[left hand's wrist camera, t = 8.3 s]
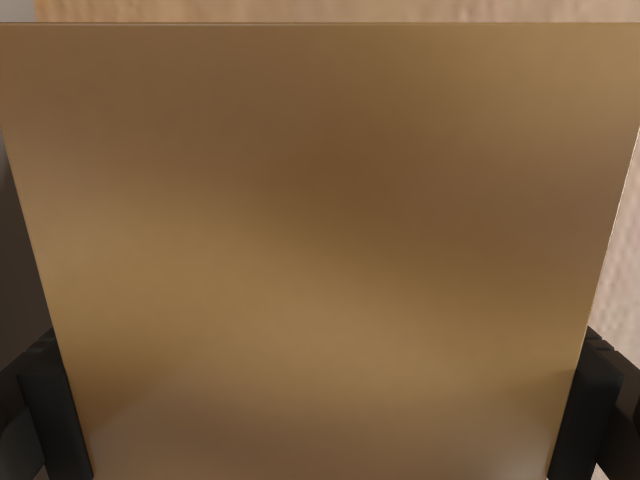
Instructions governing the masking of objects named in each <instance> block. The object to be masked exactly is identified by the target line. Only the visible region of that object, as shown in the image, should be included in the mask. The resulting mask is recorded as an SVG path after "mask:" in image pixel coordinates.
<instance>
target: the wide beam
mask: <svg viewBox="0 0 640 480" xmlns="http://www.w3.org/2000/svg"><path fill="white" fill-rule="evenodd" d="M0 129H1V133H2V136H3V140H4V144H5V148H6V152H7V155H8V159H9V163H10V167H11V170H12V174H13V178H14V181H15V185H16V189H17V193H18V196H19V200H20V204H21V208H22V211H23V215H24V219H25V223H26V226H27V230H28V234H29V238H30V241H31V245H32V249H33V252H34V256H35V260H36V264H37V267H38V271H39V275H40V279H41V282H42V286H43V290H44V294H45V297H46V301H47V305H48V309H49V312H50V316H51V320H52V323H53V327H54V331H55V335H56V338H57V342H58V346H59V350H60V353H61V357H62V361H63V365H64V368H65V372H66V376H67V380H68V383H69V387H70V391H71V395H72V398H73V402H74V406H75V409H76V413H77V417H78V421H79V424H80V428H81V432H82V436H83V439H84V443H85V447H86V451H87V454H88V458H89V462H90V466H91V469H92V473H93V477H94V480H546V478H547V475H548V471H549V467H550V463H551V460H552V456H553V452H554V449H555V445H556V441H557V437H558V434H559V430H560V426H561V423H562V419H563V415H564V411H565V408H566V404H567V400H568V397H569V393H570V389H571V385H572V382H573V378H574V374H575V371H576V367H577V363H578V359H579V356H580V352H581V348H582V345H583V341H584V337H585V333H586V330H587V326H588V322H589V319H590V315H591V311H592V307H593V304H594V300H595V296H596V293H597V289H598V285H599V282H600V278H601V274H602V270H603V267H604V263H605V259H606V256H607V252H608V248H609V244H610V241H611V237H612V233H613V230H614V226H615V222H616V218H617V215H618V211H619V207H620V204H621V200H622V196H623V192H624V189H625V185H626V181H627V178H628V174H629V170H630V166H631V163H632V159H633V155H634V152H635V148H636V144H637V140H638V137H639V133H640V23H98V22H29V23H28V22H0Z"/></svg>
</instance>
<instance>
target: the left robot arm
mask: <svg viewBox="0 0 640 480" xmlns="http://www.w3.org/2000/svg"><path fill="white" fill-rule="evenodd" d="M596 462H597V464H598V465H599V466H600V468H601V469H602V470H603V472H604V473H605V474H606V476H607V477H608V478H609V480H640V370H639V369H638V368H637V367H636V366H635V365H633V364H632V363H631V362H630V361H629V360H628V359H626V358H625V357H624V356H623V355H622V354H621V353H619V352H618V351H615V350H614V347H612V346H611V345H610V344H609V343H608V342H607V341H605V340H602V337H601V336H600V335H598V334H597V333H596V332H595V331H594V330H593V329H592V328H590V327H589V326H587V330H586V333H585V337H584V341H583V345H582V348H581V352H580V356H579V359H578V363H577V367H576V371H575V374H574V378H573V382H572V385H571V389H570V393H569V397H568V400H567V404H566V408H565V411H564V415H563V419H562V423H561V426H560V430H559V434H558V437H557V441H556V445H555V449H554V452H553V456H552V460H551V463H550V467H549V471H548V475H547V478H548V479H549V480H591V477H592V474H593V471H594V468H595V465H596ZM44 464H45V467H46V470H47V473H48V476H49V479H50V480H92V478H93V473H92V469H91V466H90V462H89V458H88V454H87V451H86V447H85V443H84V439H83V436H82V432H81V428H80V424H79V421H78V417H77V413H76V409H75V406H74V402H73V398H72V395H71V391H70V387H69V383H68V380H67V376H66V372H65V368H64V365H63V361H62V357H61V353H60V350H59V346H58V342H57V338H56V335H55V331H54V327H52V328H51V329H50V330H49V331H47V332H46V333H45V334H44V335H43V336H42V337H40V338H39V341H36V342H35V343H34V344H32V345H31V346H30V347H29V348H28V349H27V351H26V352H23V353H22V354H21V355H20V356H18V357H17V358H16V359H15V360H14V361H13V362H12V363H10V364H9V365H8V366H7V367H6V368H5V369H3V370H2V371H1V372H0V480H33V478H34V477H35V476H36V474H37V473H38V472H39V470H40V469H41V468H42V466H43V465H44Z"/></svg>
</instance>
